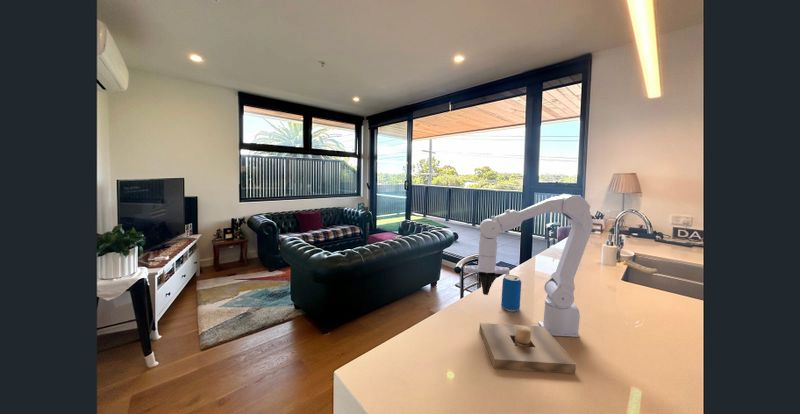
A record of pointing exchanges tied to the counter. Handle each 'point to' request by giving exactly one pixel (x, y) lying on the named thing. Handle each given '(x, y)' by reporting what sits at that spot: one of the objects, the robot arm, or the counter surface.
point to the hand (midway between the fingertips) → (485, 293)
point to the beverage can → (511, 293)
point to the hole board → (525, 350)
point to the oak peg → (522, 336)
